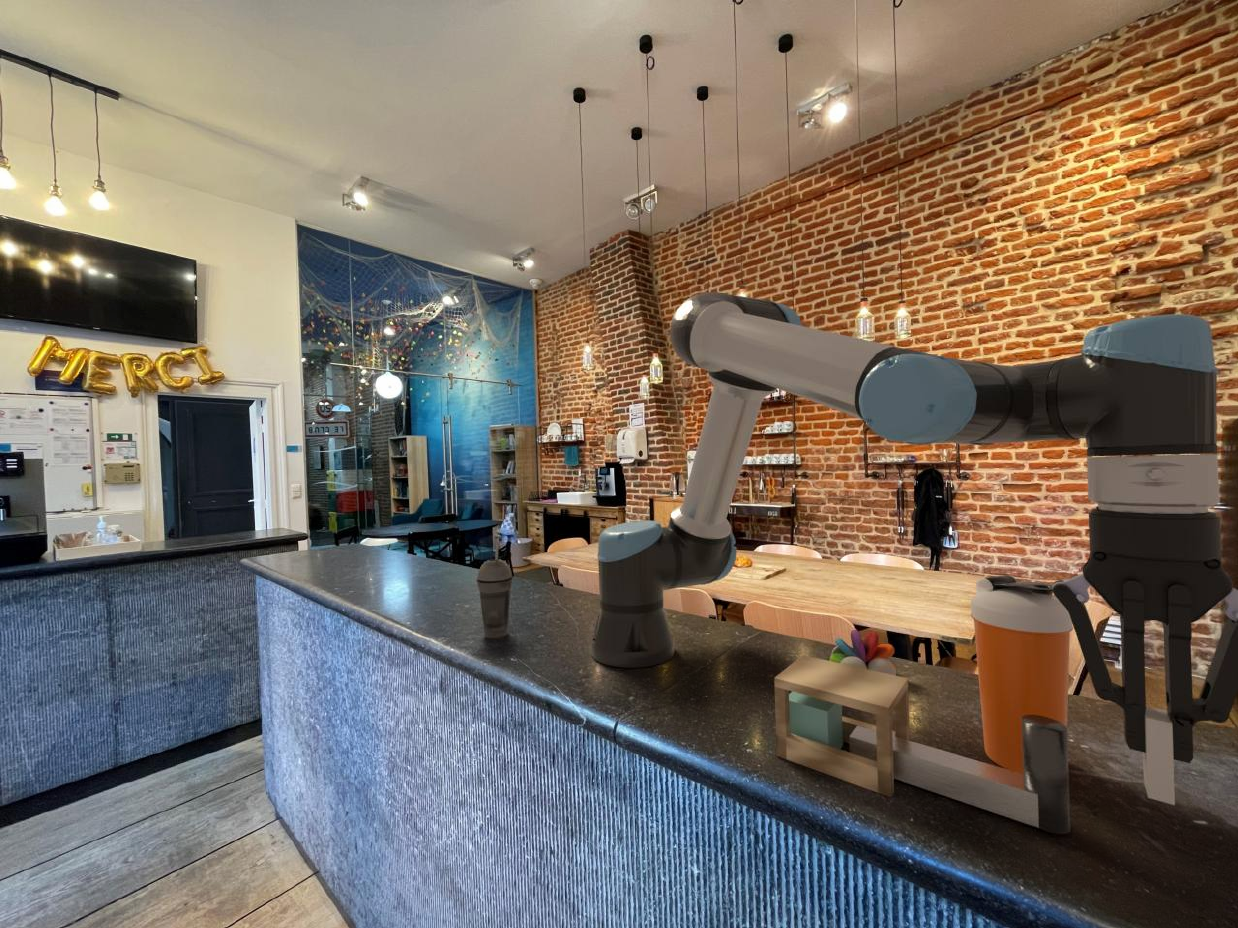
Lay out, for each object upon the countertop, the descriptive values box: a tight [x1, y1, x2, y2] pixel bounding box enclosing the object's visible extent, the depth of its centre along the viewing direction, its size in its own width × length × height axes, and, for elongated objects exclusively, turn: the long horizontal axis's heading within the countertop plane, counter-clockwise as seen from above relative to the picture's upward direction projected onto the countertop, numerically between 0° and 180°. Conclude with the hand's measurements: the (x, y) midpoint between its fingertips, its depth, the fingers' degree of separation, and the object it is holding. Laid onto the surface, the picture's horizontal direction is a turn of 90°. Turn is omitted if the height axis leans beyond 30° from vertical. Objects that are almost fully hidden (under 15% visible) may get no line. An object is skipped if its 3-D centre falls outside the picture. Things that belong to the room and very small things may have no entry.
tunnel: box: [773, 654, 911, 798], centre depth 58 cm, size 12×9×9 cm
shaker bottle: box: [970, 575, 1074, 774], centre depth 57 cm, size 9×9×20 cm
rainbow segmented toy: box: [829, 629, 898, 676], centre depth 80 cm, size 8×10×7 cm
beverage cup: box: [476, 537, 514, 639], centre depth 105 cm, size 7×7×20 cm
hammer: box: [849, 715, 1071, 835], centre depth 52 cm, size 18×3×9 cm, turn 49°
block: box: [789, 691, 844, 750], centre depth 61 cm, size 5×5×6 cm
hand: (1158, 792), depth 42 cm, fingers closed
